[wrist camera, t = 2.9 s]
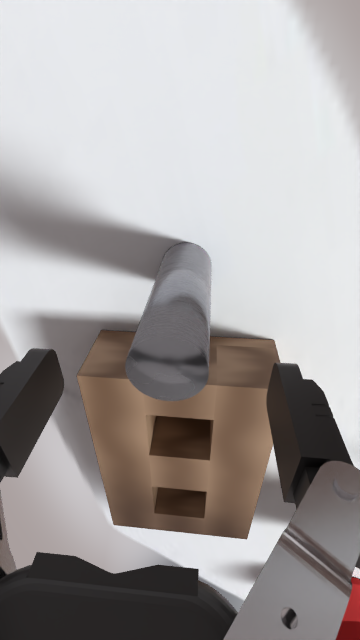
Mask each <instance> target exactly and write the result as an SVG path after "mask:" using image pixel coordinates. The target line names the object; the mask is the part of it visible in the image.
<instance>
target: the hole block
mask: <svg viewBox="0 0 360 640" xmlns="http://www.w3.org/2000/svg"><path fill="white" fill-rule="evenodd" d="M135 334H136V332H124V331H106V330H101V331H100V333H99V335H98V337H97V339H96V341H95V342H94V344H93V346H92V348H91V350H90V352H89V354H88V356H87V357H86V359H85V361H84V363H83V365H82V367H81V369H80V370H79V372H78V374H77V379H78V383H79V387H80V391H81V395H82V399H83V403H84V407H85V411H86V415H87V419H88V423H89V428H90V432H91V436H92V440H93V444H94V448H95V452H96V456H97V460H98V464H99V468H100V472H101V476H102V480H103V484H104V488H105V492H106V496H107V500H108V504H109V508H110V512H111V516H112V520H113V524H114V525H119V526H128V527H137V528H147V529H156V530H165V531H175V532H184V533H193V534H203V535H212V536H221V537H231V538H240V539H247V538H248V534H249V530H250V527H251V523H252V519H253V516H254V512H255V508H256V505H257V501H258V497H259V494H260V490H261V486H262V483H263V479H264V475H265V472H266V468H267V464H268V461H269V457H270V453H271V450H272V446H273V440H272V434H271V429H270V424H269V418H268V413H267V406H266V397H267V391H268V386H269V382H270V377H271V373H272V368H273V365H274V363H280V360H279V356H278V352H277V349H276V345H275V341H274V340H264V339H247V338H229V337H212V336H210V345H209V377H208V381H207V383H206V385H205V387H204V388H203V389H202V390H201V391H200V392H199V393H198V394H196V395H195V396H193V397H191V398H188V399H185V400H180V401H163V400H158V399H155V398H152V397H149V396H147V395H145V394H143V393H142V392H140V391H139V390H138V389H136V388H135V387H134V386H133V385H132V383H131V382H130V380H129V379H128V377H127V374H126V370H125V363H126V359H127V356H128V353H129V350H130V348H131V345H132V342H133V339H134V337H135Z"/></svg>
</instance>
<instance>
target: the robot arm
mask: <svg viewBox="0 0 360 640" xmlns="http://www.w3.org/2000/svg"><path fill="white" fill-rule="evenodd" d="M63 388H64V379H63V375H62V372H61V368H60V365H59V362H58V358H57V355H56V352H55V351H54V350H52V349H35V348H33V349H31V350H29V351H28V353H27V354H26V355H25V357H24V358H23V359H22V360H21V362H18V361H16V362H15V363H13V364H12V365H11V366H9V367H8V368H7V369H5V370H4V371H3V372H2V373H1V374H0V482H1V480H2V479H3V477H4V476H6V477H18V476H19V474H20V472H21V470H22V468H23V467H24V465H25V463H26V461H27V459H28V457H29V455H30V453H31V452H32V450H33V448H34V446H35V444H36V442H37V440H38V438H39V437H40V435H41V433H42V431H43V429H44V427H45V425H46V423H47V422H48V420H49V418H50V416H51V414H52V412H53V410H54V408H55V407H56V405H57V403H58V401H59V399H60V397H61V395H62V393H63ZM266 406H267V413H268V418H269V424H270V429H271V434H272V440H273V445H274V451H275V456H276V461H277V467H278V472H279V477H280V483H281V488H282V493H283V499H284V502H288V503H295V504H296V509H297V510H296V512H295V514H294V516H293V517H292V519H291V521H290V523H289V525H288V526H287V528H286V529H285V530H284V532H283V533H282V535H281V537H280V538H279V540H278V542H277V544H276V545H275V547H274V549H273V551H272V553H271V554H270V556H269V558H268V560H267V562H266V563H265V565H264V567H263V569H262V571H261V572H260V574H259V576H258V578H257V580H256V582H255V583H254V585H253V587H252V589H251V591H250V592H249V594H248V596H247V598H246V600H245V601H244V604H243V605H242V607H241V609H240V610H239V612H237V611H236V610H235V608H234V607H233V606H232V605H231V604H230V603H229V602H228V601H227V599H225V598H224V597H223V596H222V595H221V594H220V593H219V592H217V591H216V590H215V589H213V588H212V587H210V586H209V585H207V584H205V583H203V582H201V581H199V580H198V569H193V568H183V567H173V566H164V565H155V566H150V567H145V568H141V569H136V570H132V571H127V572H122V573H117V574H113V573H109V572H107V571H105V570H103V569H101V568H99V567H97V566H95V565H93V564H91V563H89V562H86V561H84V560H82V559H80V558H78V557H76V556H68V555H59V554H50V553H40V552H37V553H36V556H35V558H34V561H33V564H32V565H29V566H26V567H24V568H21V569H18V570H17V569H16V565H15V562H14V559H13V556H12V554H11V551H10V548H9V544H8V538H7V531H6V524H5V518H4V512H3V504H2V497H1V490H0V640H336V637H337V634H338V631H339V628H340V625H341V622H342V619H343V616H344V614H345V611H346V608H347V605H348V602H349V599H350V595H351V591H352V582H351V578H352V574H353V571H354V568H355V567H357V568H359V569H360V470H359V469H357V468H356V467H354V465H353V463H352V461H351V459H350V456H349V454H348V451H347V449H346V446H345V444H344V441H343V439H342V437H341V434H340V432H339V429H338V427H337V424H336V422H335V419H334V418H333V414H332V412H331V409H330V407H329V404H328V402H327V399H326V397H325V394H324V392H323V391H322V389H321V388H320V387H319V386H318V385H317V384H316V383H315V382H314V381H313V380H307V379H303V378H302V375H301V372H300V369H299V367H298V365H297V364H289V363H274V365H273V368H272V373H271V377H270V382H269V386H268V391H267V397H266Z"/></svg>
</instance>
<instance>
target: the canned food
mask: <svg viewBox="0 0 360 640" xmlns="http://www.w3.org/2000/svg"><path fill="white" fill-rule="evenodd" d="M351 582H352V591H351V595H350V599H349V602H348V605H347V608H346V611H345V614H344V616H343V619H342V622H341V625H340V628H339V631H338V634H337V637H336V640H360V579H358V578H354V577H352V578H351Z"/></svg>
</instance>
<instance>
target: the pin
mask: <svg viewBox="0 0 360 640" xmlns="http://www.w3.org/2000/svg"><path fill="white" fill-rule="evenodd" d="M210 305H211V260H210V257H209V255H208V254H207V252H206V251H205V250H204V249H203V248H201V247H200V246H198V245H196V244H193V243H180V244H177V245H174V246H173V247H171V248H170V249H169V250H168V251H167V252H166V254H165V256H164V258H163V261H162V264H161V266H160V269H159V272H158V274H157V277H156V280H155V283H154V285H153V288H152V291H151V293H150V296H149V299H148V302H147V304H146V307H145V310H144V312H143V315H142V318H141V321H140V323H139V326H138V329H137V331H136V334H135V337H134V339H133V342H132V345H131V348H130V350H129V353H128V356H127V359H126V363H125V370H126V374H127V377H128V379H129V380H130V382H131V383H132V385H133V386H134V387H135V388H136V389H138V390H139V391H140V392H142V393H143V394H145V395H147V396H149V397H152V398H155V399H158V400H163V401H180V400H185V399H188V398H191V397H193V396H195V395H196V394H198V393H199V392H200V391H201V390H202V389H203V388H204V387H205V385H206V383H207V381H208V377H209V345H210Z"/></svg>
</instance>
